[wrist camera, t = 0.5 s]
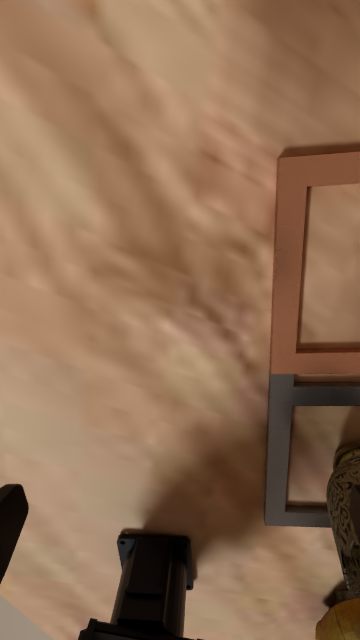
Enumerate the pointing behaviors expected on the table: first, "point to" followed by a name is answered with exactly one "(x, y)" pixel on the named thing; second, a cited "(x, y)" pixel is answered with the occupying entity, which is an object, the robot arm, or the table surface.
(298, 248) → the rectangular frame
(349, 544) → the dark ridged bell shape
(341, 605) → the decorative figurine
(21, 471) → the table surface
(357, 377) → the table surface
